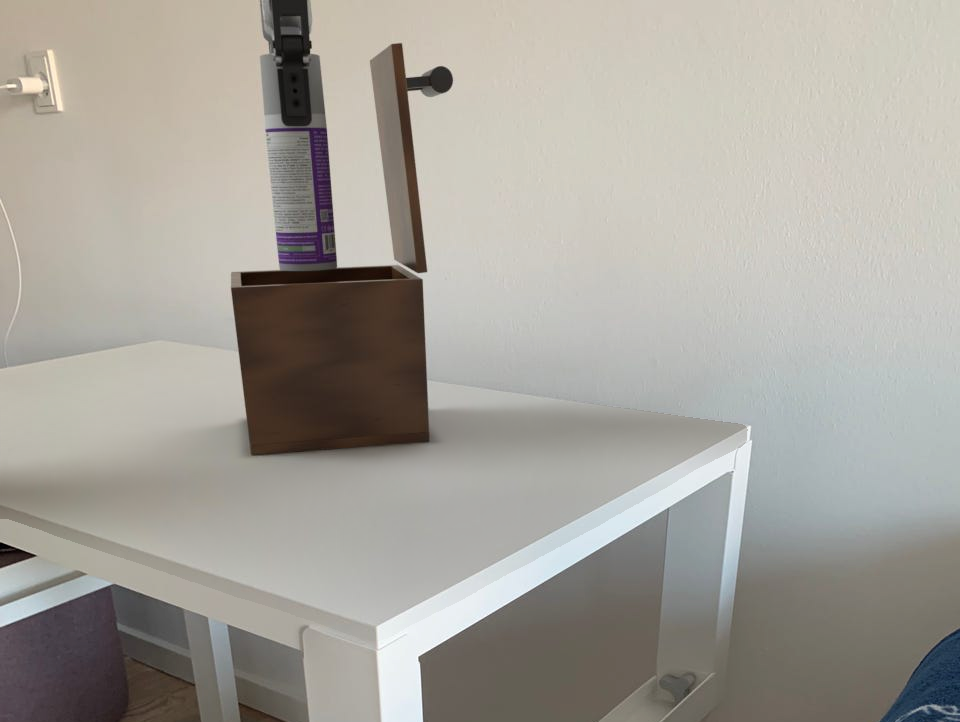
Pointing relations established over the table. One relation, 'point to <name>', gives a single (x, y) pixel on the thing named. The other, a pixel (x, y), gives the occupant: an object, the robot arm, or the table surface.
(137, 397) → the table surface
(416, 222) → the lid
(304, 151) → the container
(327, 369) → the chest
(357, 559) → the table surface
